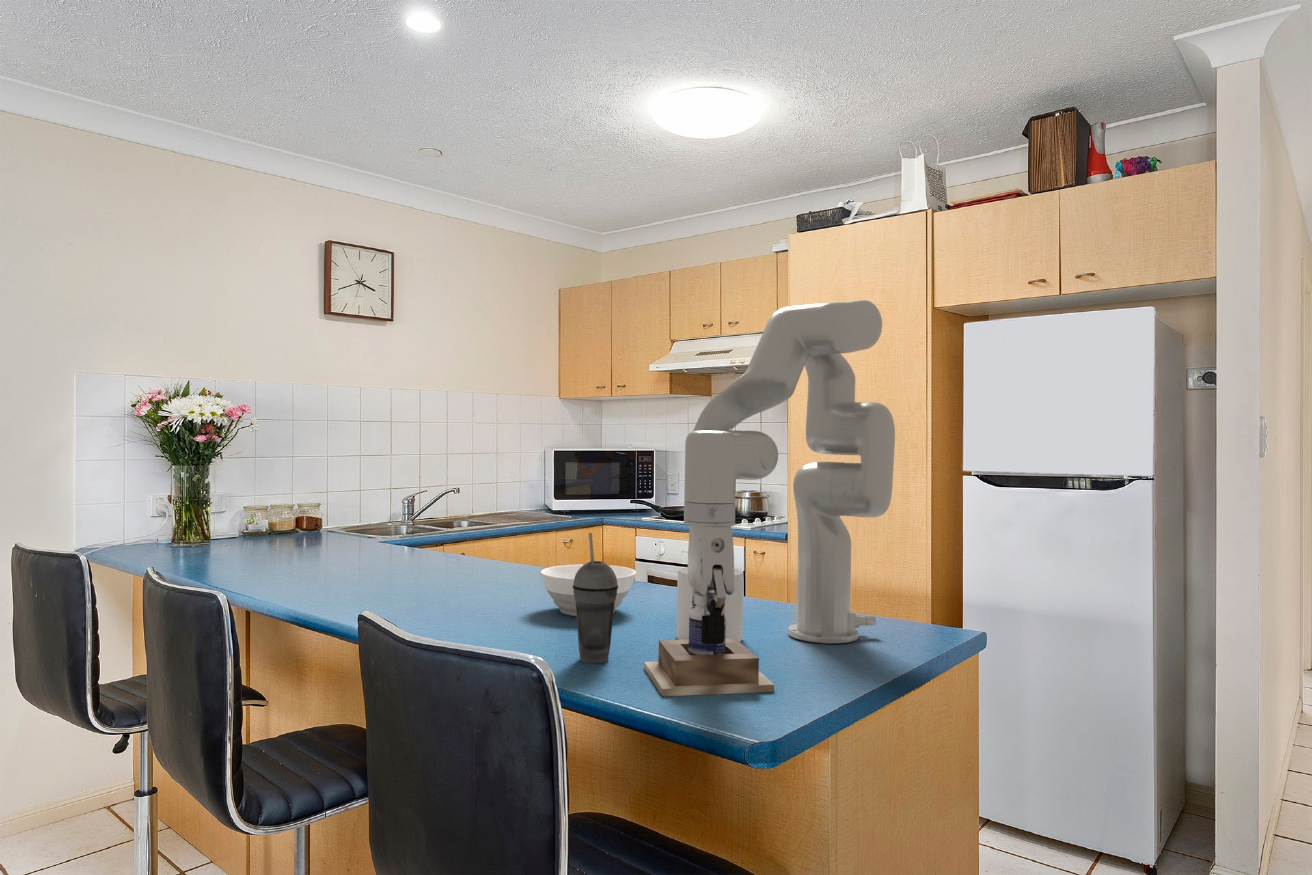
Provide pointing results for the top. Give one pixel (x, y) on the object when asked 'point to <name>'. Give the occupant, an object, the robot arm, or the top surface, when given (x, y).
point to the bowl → (562, 582)
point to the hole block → (706, 670)
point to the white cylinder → (731, 606)
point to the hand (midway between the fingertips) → (707, 637)
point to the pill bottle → (696, 631)
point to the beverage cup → (594, 608)
